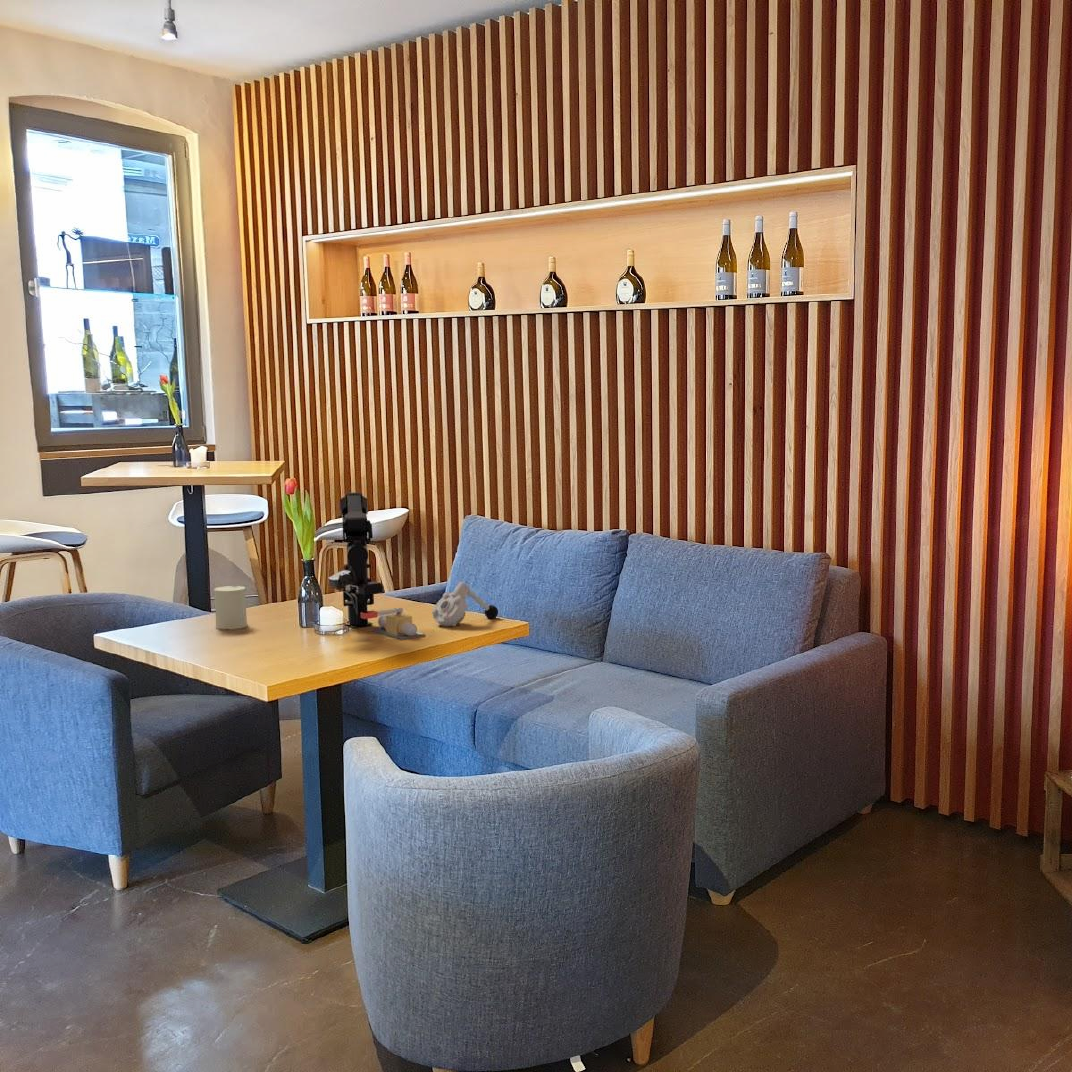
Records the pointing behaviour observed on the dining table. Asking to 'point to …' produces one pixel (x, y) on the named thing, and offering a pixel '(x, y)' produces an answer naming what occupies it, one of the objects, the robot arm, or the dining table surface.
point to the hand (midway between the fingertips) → (358, 614)
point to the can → (230, 607)
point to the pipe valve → (397, 626)
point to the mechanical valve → (458, 606)
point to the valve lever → (379, 613)
